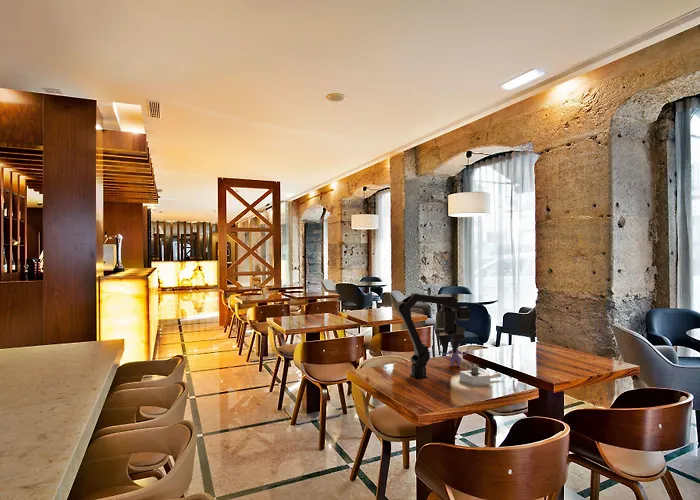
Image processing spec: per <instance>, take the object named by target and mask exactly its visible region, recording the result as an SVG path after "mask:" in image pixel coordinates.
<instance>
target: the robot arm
mask: <svg viewBox="0 0 700 500" xmlns="http://www.w3.org/2000/svg"><path fill="white" fill-rule="evenodd" d="M418 302H422V303H431V304H437V305H440V306H442V307H441V308H439V311H440V312H443V321H441V324H442V325H443V327H440V328H435V329H434V334H435V335H436V337H437V338H438V340H439V343H440V345H441V348H442V349H443V350H446V347H447V339H448V338H450V340H449V341H451V345H452V346H451V345H450V346H451V348H452V349H453V353H456V351H457V349H459V348H458V345H459V343H460V344H461V342H463V341H465V340H466V336H465V331H466V328H465V327H462V326H460V325H459V324H458V323H457V322H456V320H458V321H469V320H471V311H470V310H469V306H460V305H459V303H458V300H457V298H456V296H452V295H448V294H447V295H432V294H431V295H430V294H423V293H416V292H413V293H411V294H410V295H409V296H407V297H406V298H403V299H402V300H400V301H398V302H396V304H395V306H394V308H395V311H396V313H397V314H398V315H399V317H400V318H401V319H402V321H403V323H404V325H405V327H406V330H407V333H408V335H409V337H410V339H411V342H412V345H413V352H414V355H413V356H411V357H410V361H411V374H409V376H411V377H412V378H413V379H416V380H417V379H424V378H428V376H427V367H426V366H427V364H428V362H429V361H430V359H431V352H430V350H429V347H428V345H426V344H425V343H423V342H422V341H421V338H420V335H419V333H418V330H417V328H416V326H415V323H414V321H413V318H412V311H411V309H412V308H413V307H414V306H415V305H416V303H418ZM452 349H451V350H452ZM453 353H452V354H453Z"/></svg>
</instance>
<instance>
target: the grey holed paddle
mask: <svg viewBox="0 0 700 500" xmlns="http://www.w3.org/2000/svg"><path fill="white" fill-rule="evenodd" d="M501 377H502V374H501V373H491V374H488V373H486V372H483V371H481V370H478V375H472V374H471V369H470V370H469V369H468V370H460V371H459V381H460V382H461V383H464V384H466V385H467V386H469V387H473V388H474V387H485V386H490V385H491V379H497V378H498V379H499V378H501Z"/></svg>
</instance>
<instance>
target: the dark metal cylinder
mask: <svg viewBox="0 0 700 500" xmlns="http://www.w3.org/2000/svg"><path fill="white" fill-rule="evenodd" d="M470 370H471V374H472V375H478V371H479V364H476V363H472V364H470Z"/></svg>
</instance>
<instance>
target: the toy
mask: <svg viewBox="0 0 700 500" xmlns="http://www.w3.org/2000/svg"><path fill="white" fill-rule="evenodd" d="M449 341H450V340H449ZM450 346H451V347H452V345H451V341H450ZM460 346H461V342H460V343H459V345H458V348H457V351H456V353H453V349H451V350H448V352H445V353H444V352H443V351H442V350H438V352H439V353H440V354H442V355H443V356H446V355H451V356H450V357H449V362H450V364H449V365H450V366H451V367H454V363H455V362H456V366H457V365H458V367H460V366H461V365H460V364H461V362H462V361H463V360H462V358H461V356H460V355H463V356H466V355H467V354H468V351H469V349H470V348H471V347H473V346H472V345H469V346H468V347H467V349H466V352H465V353H464V352H462V350H461V351H460V350H458V349H459V347H460Z"/></svg>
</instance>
